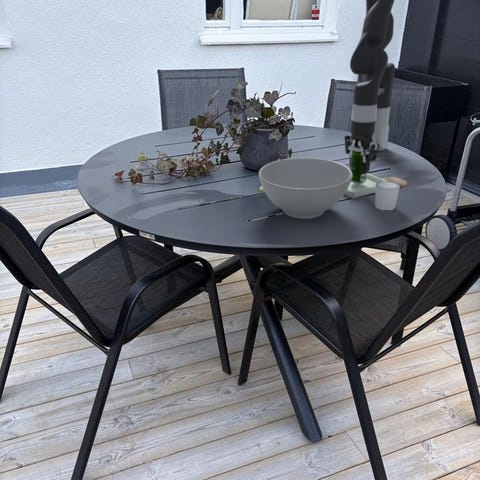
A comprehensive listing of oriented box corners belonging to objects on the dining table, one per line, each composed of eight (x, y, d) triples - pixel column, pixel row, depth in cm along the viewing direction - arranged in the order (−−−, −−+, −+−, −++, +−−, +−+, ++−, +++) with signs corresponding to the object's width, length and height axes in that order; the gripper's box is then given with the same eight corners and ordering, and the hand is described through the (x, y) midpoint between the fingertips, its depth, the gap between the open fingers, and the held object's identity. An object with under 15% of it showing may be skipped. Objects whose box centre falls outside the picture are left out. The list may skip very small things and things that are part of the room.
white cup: (384, 213, 135) (387, 191, 131) (368, 205, 140) (370, 183, 137) (401, 208, 137) (405, 186, 134) (385, 200, 143) (388, 179, 139)
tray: (361, 176, 162) (361, 170, 161) (390, 188, 151) (391, 182, 150) (324, 185, 156) (325, 179, 155) (352, 198, 145) (353, 192, 144)
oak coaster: (392, 176, 161) (392, 175, 160) (412, 184, 154) (412, 183, 153) (373, 181, 157) (373, 180, 157) (392, 190, 150) (392, 188, 150)
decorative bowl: (248, 199, 147) (247, 163, 141) (325, 188, 153) (327, 153, 147) (277, 236, 124) (277, 195, 118) (366, 222, 130) (370, 181, 124)
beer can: (369, 181, 152) (373, 146, 147) (359, 185, 149) (362, 149, 144) (356, 177, 156) (359, 142, 150) (345, 181, 153) (348, 146, 148)
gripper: (389, 121, 139) (383, 174, 147) (357, 112, 150) (353, 162, 158) (370, 124, 136) (365, 179, 144) (339, 115, 147) (335, 166, 155)
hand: (358, 170), depth 151 cm, fingers closed on beer can, 5 cm apart
